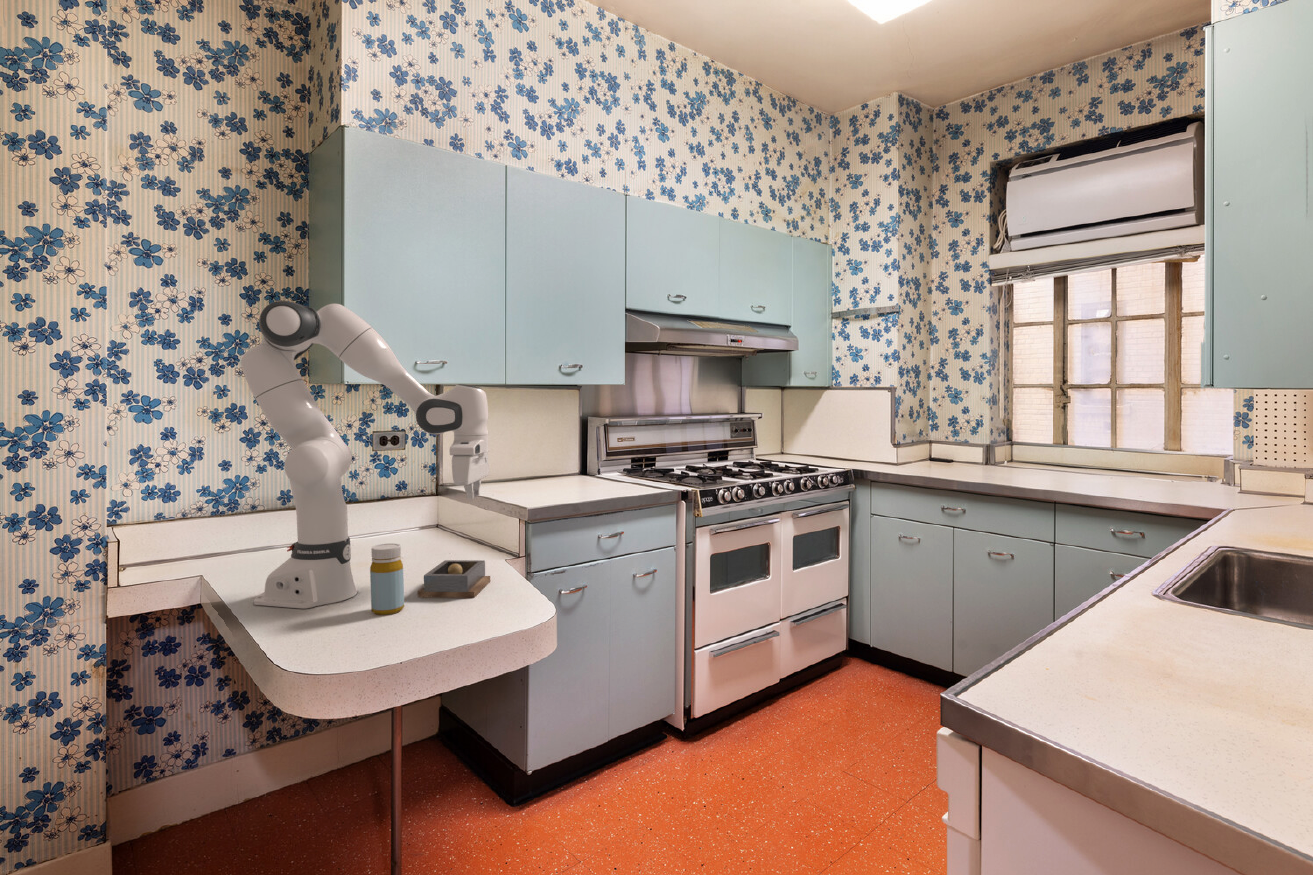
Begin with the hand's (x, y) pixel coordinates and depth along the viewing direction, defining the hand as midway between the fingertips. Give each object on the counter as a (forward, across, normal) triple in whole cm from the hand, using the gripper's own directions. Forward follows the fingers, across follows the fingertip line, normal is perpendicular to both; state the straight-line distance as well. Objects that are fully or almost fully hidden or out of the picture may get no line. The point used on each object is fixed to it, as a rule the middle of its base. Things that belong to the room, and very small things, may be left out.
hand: (472, 497), depth 174 cm
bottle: (+22, +25, -12) cm, 36 cm away
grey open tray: (+21, +8, -2) cm, 22 cm away
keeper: (+22, +8, -2) cm, 24 cm away
